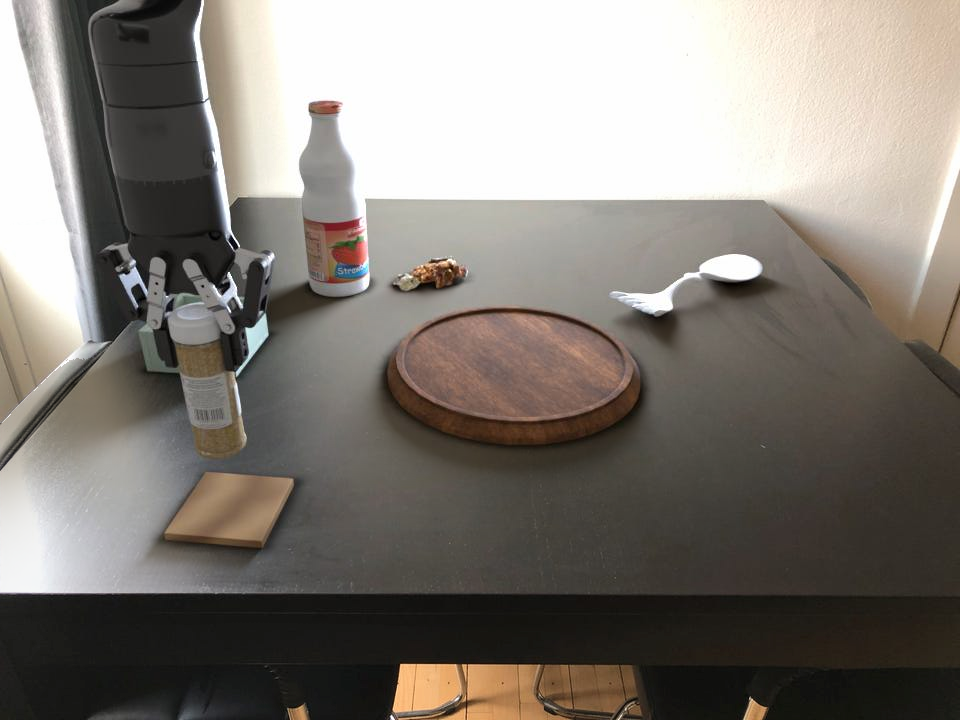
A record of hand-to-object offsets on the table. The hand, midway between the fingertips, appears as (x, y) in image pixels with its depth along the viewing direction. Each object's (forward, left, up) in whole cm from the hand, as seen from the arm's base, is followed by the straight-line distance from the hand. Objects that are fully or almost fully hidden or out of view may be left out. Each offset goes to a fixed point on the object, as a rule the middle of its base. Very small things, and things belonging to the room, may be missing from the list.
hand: (205, 364), depth 63 cm
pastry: (+10, +58, -16) cm, 61 cm away
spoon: (+52, +59, -16) cm, 80 cm away
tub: (-15, +30, -16) cm, 37 cm away
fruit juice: (-4, +54, -16) cm, 57 cm away
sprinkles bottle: (0, 0, -9) cm, 9 cm away
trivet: (0, 0, -16) cm, 16 cm away
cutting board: (+25, +30, -16) cm, 42 cm away
